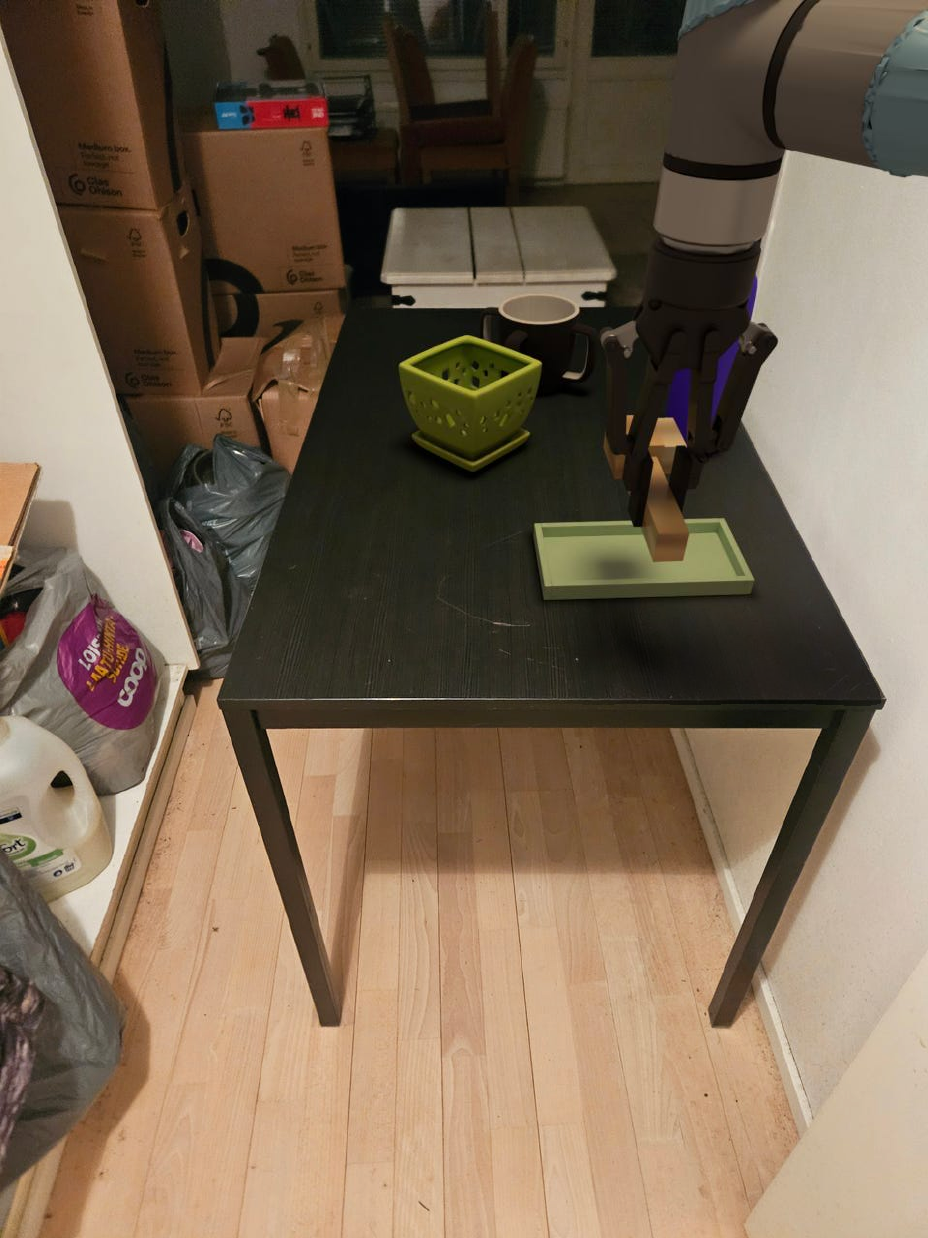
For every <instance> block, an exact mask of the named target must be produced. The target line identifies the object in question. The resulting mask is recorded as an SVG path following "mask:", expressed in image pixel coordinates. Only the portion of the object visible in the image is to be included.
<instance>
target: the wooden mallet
mask: <svg viewBox="0 0 928 1238" xmlns="http://www.w3.org/2000/svg"><path fill="white" fill-rule="evenodd" d="M633 415H634V414H633ZM633 415H632V414H630V415H629V414H627V425H626V434H628V432H629V429H630V426H631V422H632V419H633ZM676 445H685V446H686V448H687V445H686V443H685V441H684V439H683V437H682V435H681V433H680V431H679V429H678V427H677V425H676V423H675V421H674V419H673V418H665V417H658V420H657V423H656V426H655V430H654V433H653V436H652V439H651V442H650V445H649V448H648V450H649V453H650V455H651V457H652V460H653V462H654V465H653V470H652V476H651V481H650V487H649V492H648V497H647V502H646V506H645V512H644V518H643V523H642V527H641V530H642V532H643V535H644V538H645V541H646V544H647V546H648V549H649V552H650V555H651V558H652V560H653V562H667V561H683V559H684V555H685V551H686V546H687V542H688V538H689V533H690V532H689V530H688V527H687V525H686V523H685V521H684V519H685V518H684V516H683V513H682V514H681V511H680V509H679V507H678V504H677V502H676V500H675V497H674V495H673V493H672V491H671V488H670V486H669V480H668V479H667V476H666V475H667V474H669V475H670V474H671V469H672V464H673V459H674V454H675V449H676ZM603 451H604V454H605V457H606V459H607V463H608V465H609V468H610V471H611V474H612V477H613V480H623V479H622V475H623V468H624V462H625V455H622V454H621V455H614V454H613V453H612V452H611V449H610V446H609V443H608V441H607V438H606V430H605V432H604V439H603ZM630 492H631V491H627V493H628V496H629V497H630Z"/></svg>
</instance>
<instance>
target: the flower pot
mask: <svg viewBox="0 0 928 1238" xmlns="http://www.w3.org/2000/svg"><path fill="white" fill-rule="evenodd" d="M475 362H476V363H477V364H478V368H477V369H476V368H474V367H473V364H474V363H475ZM492 365H493V366H492ZM541 369H542V363H541V362H540V361H538V360H536V359H534V358H531V357H529V356H526V355H524V354H521V353H518V352H516V351H513V350H511V349H508V348H505V347H502V346H499V344H496V343H494V342H492V341H491V342H488V341H485V340H482V339H480V337H476V336H473V335H469V334H465V335H463V336H459V337H456V338H453V339H451V340H449V341H446V342H444V343H442V344H438V345H436V346H433V347H432V348H428V349H427V350H425V351H423V352H419V353H418V354H416V355H413V356H411V357H409V358H407V359H405V360H403V361H402V362H400V363H399V365H398V374H399V381H400V385H401V389H402V390H401V391H402V392H403V393H402V394H403V397H404V401H405V403H406V407H407V409H408V411H409V415H410V416H411V417H412V418H411V419H413V422H414V424H415V425H416V426H417V428H418V430H417V431H415V432H414V433H412V434H411V438H412V440H413V441H414V442H415V443H416V444H417V445H418V446H419V447H421V448H423V449H425V450H426V451H428V452H430V453H432V454H434V455H435V456H438V457H440V458H442V459H443V460H446V461H448V462H450V463H452V464H454V465H455V466H458V467H459V468H461V469H464V470H466V471H468V472H471V473H475V472H477V471H478V470H479V471H480V469H483V468H485V467H486V466H488V465H489V464H491V463H493V462H494V461H496V460H497V459H500V458H503V456H505V455H507V454H509V453H510V452H512V451H514V450H516V449H518V448H519V447H520V446H522V445H523V444H524V443H525V442H526V441H527V440H528V439H529V437H530V435H531V433H530V432H529V431H528V430H526V429H524V428H522V426H523V424H524V423H525V421H526V419H527V417H528V415H529V414H530V412H531V409H532V407H533V404H534V402H535V399H536V397H537V394H536V393H537V389H538V385H539V381H540V376H541ZM503 371H506V372H508V373H509V375H508V376H506V377H504V376H503V377H502V372H503ZM444 372H447V376H448V377H447V378H448V379H447V380H446V379H443V373H444ZM486 372H487V375H486ZM474 378H476V379H478V380H479V384H478V387H477V386H475V385H473V384H474ZM455 380H457V383H455Z"/></svg>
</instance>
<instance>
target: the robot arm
mask: <svg viewBox="0 0 928 1238" xmlns="http://www.w3.org/2000/svg"><path fill="white" fill-rule="evenodd" d="M677 35H678V36H677V42H678V45H677V52H676V53H677V54H676V60H675V61H676V63H675V69H674V71H675V72H674V80H673V89H672V98H671V104H670V105H671V106H670V115H669V122H668V131H667V135H666V136H667V137H666V138H667V139H666V145H665V147H664V151H663V159H662V167H661V172H660V173H661V174H660V179H659V185H658V186H659V187H658V192H657V199H656V205H655V211H654V217H653V223H652V224H653V227H654V229H655V231H656V232H657V234H655V236H654V237H653V238H652V239H651V240H650V243H649V249H648V256H647V264H646V271H645V277H644V283H643V293H642V298H641V301H640V303H639V305H638V307H637V308H636V310H634V313H633V315H632V320H631V321H629V322H627V323H625V324H623V325H621V326H619V327H617V328H614V329H613V328H612V327H611V326H605V327H603V328H601V330H600V331H599V333H598V336H599V342H600V343H601V346H602V349H603V351H604V354H605V357H606V372H605V373H606V376H605V377H606V379H605V381H606V383H605V384H606V386H605V387H606V388H605V392H606V393H605V394H606V395H605V431H606V438H607V441H608V443H609V446H610V449H611V452H612V453H613V454H614V455H621V454H622V455H625V462H624V468H623V475H622V479H621V480H622V482H623V484H624V488H625V490H626V492H628V491H631V492H630V496H629V498H628V499H629V500H628V505H627V512H628V515H629V518H630V521H632V524H633V527H642V523H643V518H644V512H645V506H646V502H647V497H648V492H649V487H650V481H651V476H652V470H653V465H654V462H653V460H652V457H651V455H650V453H649V450H648V448H649V445H650V442H651V439H652V436H653V433H654V430H655V426H656V423H657V420H658V418H660V414H661V411H662V407H663V404H664V402H665V398H666V395H667V392H668V389H669V387H670V386H671V384H672V381H673V378H674V375H675V372H676V371H679V370H683V369H689V370H690V371H691V374H690V390H689V405H688V421H687V436H686V441H687V448H686V446H685V445H676V449H675V454H674V459H673V464H672V469H671V474H669V479H668V484H669V486H670V488H671V491H672V493H673V495H674V497H675V500H676V502H677V504H678V507H679V509H680V511H681V514H682V515H683V509H684V505H685V501H686V496H687V493H688V490H696V489H697V487H698V486H699V484H700V480H701V475H702V472H703V467H704V465H705V464H707V463H709V462H710V461H711V457H712V456H711V454H712V453H711V452H713V453H715V452H717V451H718V452H720V453H725V452H727V451H729V450H730V449H731V447H732V445H733V444H734V443H733V442H734V440H735V437H736V436H737V435H736V434H737V432H738V429H739V426H740V424H741V421H742V419H743V417H744V413H745V411H746V408H747V405H748V402H749V400H750V397H751V395H752V392H753V389H754V387H755V385H756V381H757V380H758V379H757V378H758V376H759V374H760V371H761V368H762V366H763V365H764V364H765V362H766V360H767V359H768V358H769V357H770V355H771V354H772V353H773V351H774V350H775V349H776V348H777V346H778V344H779V339H778V337H777V336H776V335H775V333H774V332H773V331H772V330H771V328H770V327H769V326H768V325H767V324H766V323H764V322H758V323H757V322H755V321H753V320H752V319H751V320H750V314H749V311H748V300H749V297H750V295H751V291H752V287H753V283H754V279H755V275H756V276H757V270H758V265H759V263H760V257H761V253H762V248H761V247H762V246H760V243H759V242H758V241H759V240H760V239H761V238H763V237H764V236H765V235H766V233H767V231H768V230H767V229H768V224H769V222H770V216H771V212H772V208H773V203H774V199H775V194H776V189H777V186H778V182H779V177H780V172H781V170H782V169H781V168H782V166H783V165H782V163H783V161H784V156H785V153H786V151H790V152H797V153H802V154H807V155H810V156H811V155H812V156H816V157H819V158H825V159H829V160H834V161H839V162H844V163H848V164H853V165H857V166H862V167H866V168H870V169H871V168H872V169H876V170H881V171H882V172H884V173H885V172H886V173H887V172H888V174H889V175H890V176H893V177H899V178H907V177H908V178H909V177H913V176H918V177H925V178H928V0H686V2H685V8H684V13H683V17H682V22H681V27H680V29H679V31H678V34H677ZM638 338H639V340H640V341H641V343H642V345H643V346H644V348H645V350H646V351H647V353H648V358H647V361H646V372H645V375H644V378H643V382H642V386H641V388H640V391H639V395H638V399H637V403H636V405H635V409H634V413H633V419H632V422H631V426H630V429H629V432H628V434H626V425H627V415H628V386H629V367H628V362H627V358H630V357H631V355H632V354H633V352H634V342H635V341H636V340H637V339H638ZM738 339H739V341H738V346H739V349H738V351H737V353H736V355H735V358H734V361H733V363H732V366H731V369H730V372H729V375H728V378H727V381H726V383H725V386H724V389H723V392H722V395H721V398H720V401H719V404H718V406H717V409H716V412H715V415H714V418H713V421H712V424H711V417H712V405H713V394H714V383H715V382H716V381H717V372H718V361H719V359H720V358H721V357H722V355H723V354H724V353H725V352H726V351H727V350H728V349H729V348H730V347H731V346H732V345H733V344H734V343H735V342H736V341H737V340H738ZM709 453H711V454H709Z"/></svg>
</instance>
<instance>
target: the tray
mask: <svg viewBox="0 0 928 1238" xmlns="http://www.w3.org/2000/svg"><path fill="white" fill-rule="evenodd" d="M684 521H685V523H686V525H687V527H688V530H689V532H690V533H689V538H688V542H687V546H686V551H685V555H684V559H683V561H667V562H653V560H652V558H651V555H650V552H649V549H648V546H647V544H646V541H645V538H644V535H643V532H642V530H641V527H633V524H632V521H631V520H610V521H609V520H606V521H605V520H604V521H572V522H571V521H570V522H567V521H566V522H541V523H539V522H538V523H536V522H535V523H533V542H534V549H535V555H536V561H537V567H538V572H539V573H538V574H539V579H540V586H541V591H542V597H543V600H544V601H554V600H555V601H556V600H557V601H558V600H560V601H561V600H591V599H625V598H628V599H629V598H658V597H659V598H660V597H663V598H664V597H695V596H700V597H701V596H728V595H731V596H732V595H751V594H752V591H753V587H754V584H755V578H754V576H753V574H752V571H751V570H750V568H749V565H748V563H747V561H746V560H745V557H744V556H743V553H742V551H741V549H740V547H739V545H738V543H737V541H736V539H735V537H734V535H733V533H732V531H731V529H730V527H729V525H728V522H727V521H726V519H725V518H724V517H722V518H717V517H716V518H684Z"/></svg>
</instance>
